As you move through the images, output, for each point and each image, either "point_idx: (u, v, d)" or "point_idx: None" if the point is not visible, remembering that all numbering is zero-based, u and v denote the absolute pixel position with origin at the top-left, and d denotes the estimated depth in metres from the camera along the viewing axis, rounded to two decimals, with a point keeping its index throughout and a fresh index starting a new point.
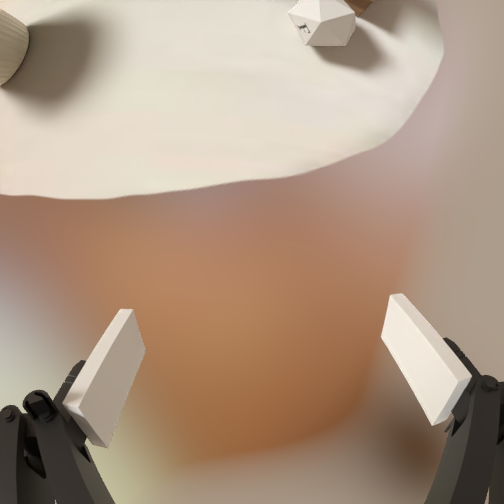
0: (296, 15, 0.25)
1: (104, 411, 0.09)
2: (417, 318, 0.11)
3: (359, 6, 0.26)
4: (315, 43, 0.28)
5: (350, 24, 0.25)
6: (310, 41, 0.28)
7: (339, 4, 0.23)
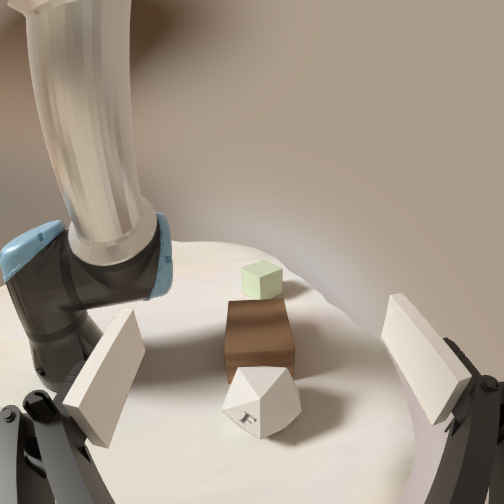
0: (231, 408, 0.26)
1: (104, 411, 0.09)
2: (417, 318, 0.11)
3: (287, 366, 0.35)
4: (269, 430, 0.25)
5: (291, 384, 0.28)
6: (262, 430, 0.25)
7: (267, 369, 0.29)
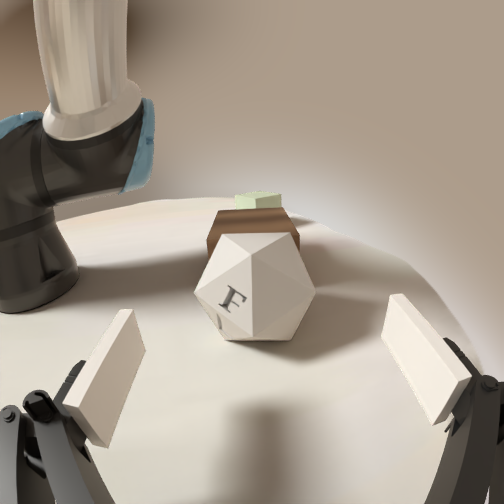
0: (208, 284, 0.19)
1: (104, 411, 0.09)
2: (417, 318, 0.11)
3: None
4: (267, 320, 0.18)
5: (297, 252, 0.21)
6: (256, 319, 0.18)
7: (262, 233, 0.22)
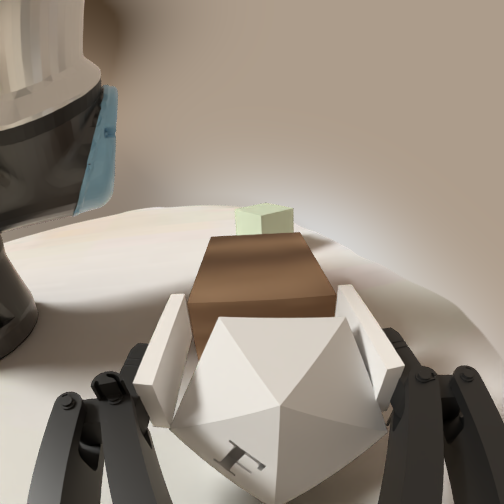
0: (194, 428, 0.09)
1: (168, 390, 0.10)
2: (359, 307, 0.12)
3: None
4: (301, 488, 0.07)
5: (360, 360, 0.10)
6: (282, 491, 0.07)
7: (295, 321, 0.11)
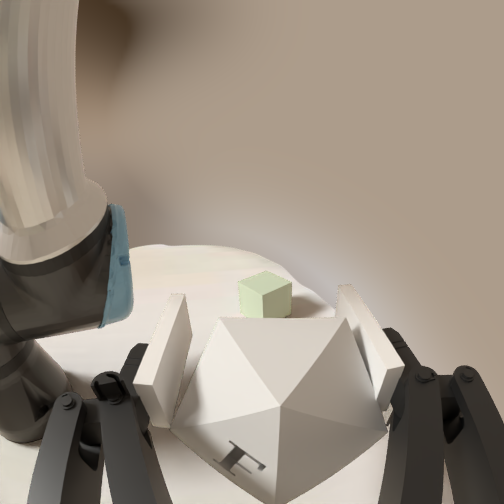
0: (194, 428, 0.09)
1: (168, 390, 0.10)
2: (359, 307, 0.12)
3: None
4: (301, 488, 0.07)
5: (360, 360, 0.10)
6: (283, 492, 0.07)
7: (295, 321, 0.11)
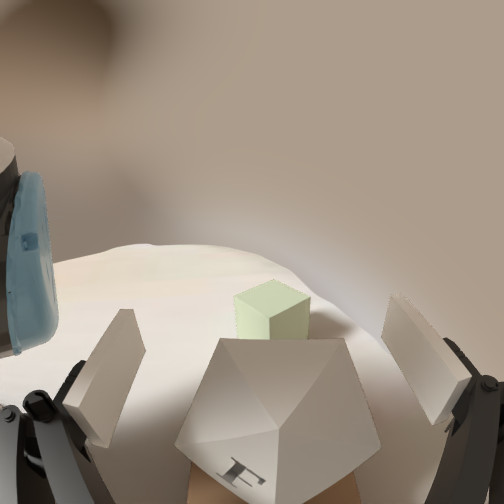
0: (198, 445, 0.09)
1: (104, 411, 0.09)
2: (417, 318, 0.11)
3: None
4: (299, 499, 0.08)
5: (356, 380, 0.10)
6: (281, 503, 0.07)
7: (294, 343, 0.11)
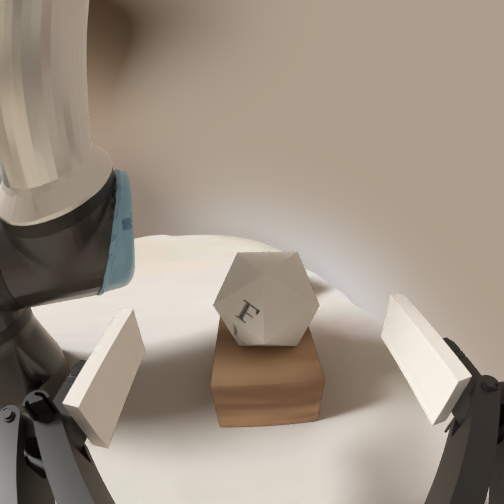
0: (226, 298, 0.22)
1: (104, 411, 0.09)
2: (417, 318, 0.11)
3: (310, 403, 0.21)
4: (277, 329, 0.21)
5: (303, 270, 0.24)
6: (267, 329, 0.21)
7: (273, 253, 0.25)
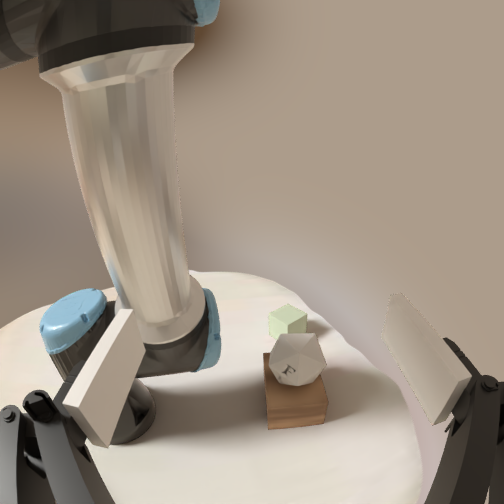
0: (277, 363, 0.39)
1: (104, 411, 0.09)
2: (417, 318, 0.11)
3: (320, 414, 0.38)
4: (304, 378, 0.37)
5: (318, 344, 0.40)
6: (299, 379, 0.37)
7: (301, 334, 0.41)
